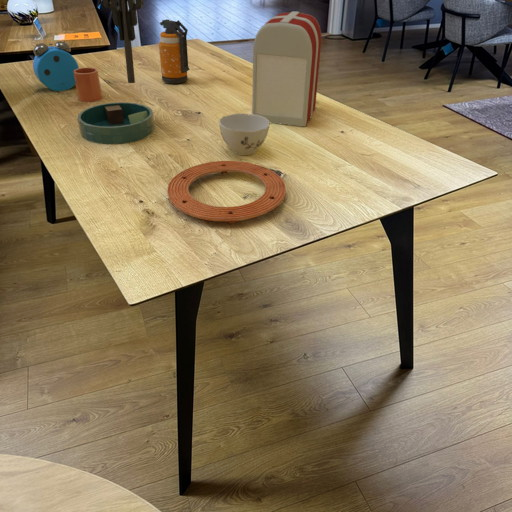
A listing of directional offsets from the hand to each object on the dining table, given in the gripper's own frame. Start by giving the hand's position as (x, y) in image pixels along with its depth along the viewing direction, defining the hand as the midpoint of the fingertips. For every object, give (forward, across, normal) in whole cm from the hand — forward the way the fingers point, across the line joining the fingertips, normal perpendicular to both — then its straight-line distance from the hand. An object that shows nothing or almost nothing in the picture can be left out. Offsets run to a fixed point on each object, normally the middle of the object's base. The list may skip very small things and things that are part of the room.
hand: (127, 39), depth 121 cm
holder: (+23, +21, -22) cm, 39 cm away
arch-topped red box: (+23, -41, -14) cm, 49 cm away
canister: (+23, -3, -44) cm, 50 cm away
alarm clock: (+24, +34, -31) cm, 52 cm away
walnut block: (+23, +7, -2) cm, 24 cm away
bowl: (+23, +5, +4) cm, 24 cm away
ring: (+23, -28, +38) cm, 52 cm away
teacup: (+23, -30, +12) cm, 40 cm away
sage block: (+20, 0, +4) cm, 21 cm away
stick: (+10, 0, +2) cm, 10 cm away
